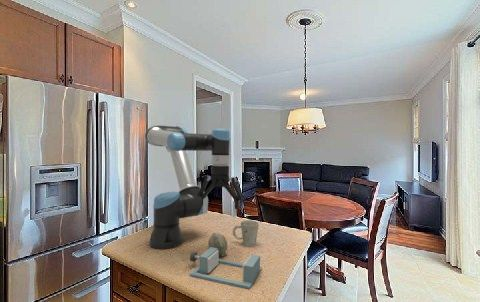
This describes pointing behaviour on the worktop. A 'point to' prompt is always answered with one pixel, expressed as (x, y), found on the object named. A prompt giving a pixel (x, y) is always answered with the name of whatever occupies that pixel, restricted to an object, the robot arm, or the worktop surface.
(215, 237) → the garlic bulb
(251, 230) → the mug
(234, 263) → the vise
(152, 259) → the worktop surface
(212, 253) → the jaw
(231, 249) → the worktop surface
